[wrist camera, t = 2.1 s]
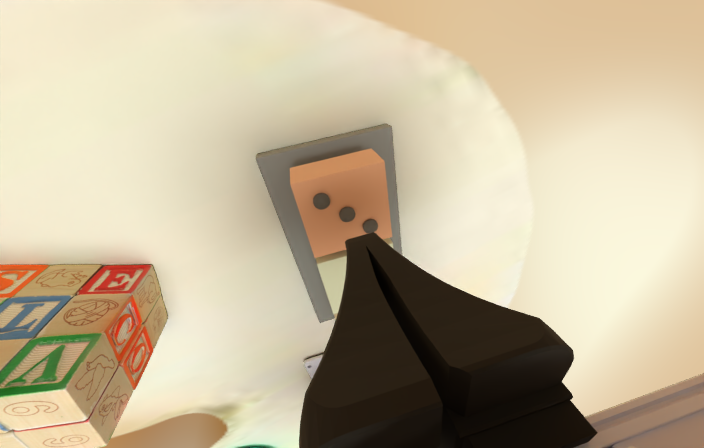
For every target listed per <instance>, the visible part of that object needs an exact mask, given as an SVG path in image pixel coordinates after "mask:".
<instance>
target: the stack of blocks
mask: <svg viewBox="0 0 704 448" xmlns="http://www.w3.org/2000/svg"><path fill="white" fill-rule="evenodd" d="M167 319H168V317H167V313H166V309H165V306H164V303H163V299H162V296H161V291H160V287H159V283H158V280H157V277H156V274H155V271H154V268H153V266H152V265H114V266H109V265H107V266H102V265H52V266H49V265H0V448H98V447H103V446H106V445H107V444H108V442H109V440H110V438H111V436H112V434H113V432H114V430H115V428H116V426H117V424H118V422H119V420H120V418H121V416H122V414H123V411H124V409H125V407H126V405H127V403H128V401H129V399H130V397H131V395H132V392H133V390H135V389H136V387H137V385H138V383H139V381H140V378H141V376H142V374H143V372H144V370H145V368H146V366H147V364H148V361H149V359H150V357H151V355H152V353H153V349H154V348H155V346H156V344H157V341H158V339H159V337H160V335H161V333H162V330H163V328H164V326H165V324H166V322H167Z"/></svg>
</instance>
